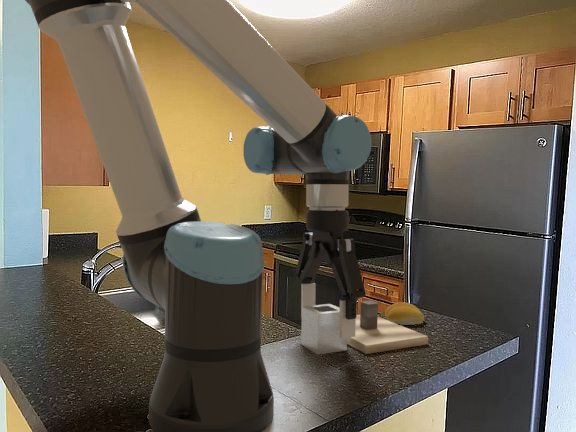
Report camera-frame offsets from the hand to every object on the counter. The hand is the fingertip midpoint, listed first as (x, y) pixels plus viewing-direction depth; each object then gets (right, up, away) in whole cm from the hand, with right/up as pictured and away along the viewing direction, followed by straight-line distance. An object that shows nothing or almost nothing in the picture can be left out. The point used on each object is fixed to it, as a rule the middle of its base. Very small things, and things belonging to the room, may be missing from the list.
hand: (326, 326), depth 85 cm
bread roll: (+19, -4, +20) cm, 27 cm away
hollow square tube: (0, -4, 0) cm, 4 cm away
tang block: (+9, -4, +8) cm, 12 cm away
